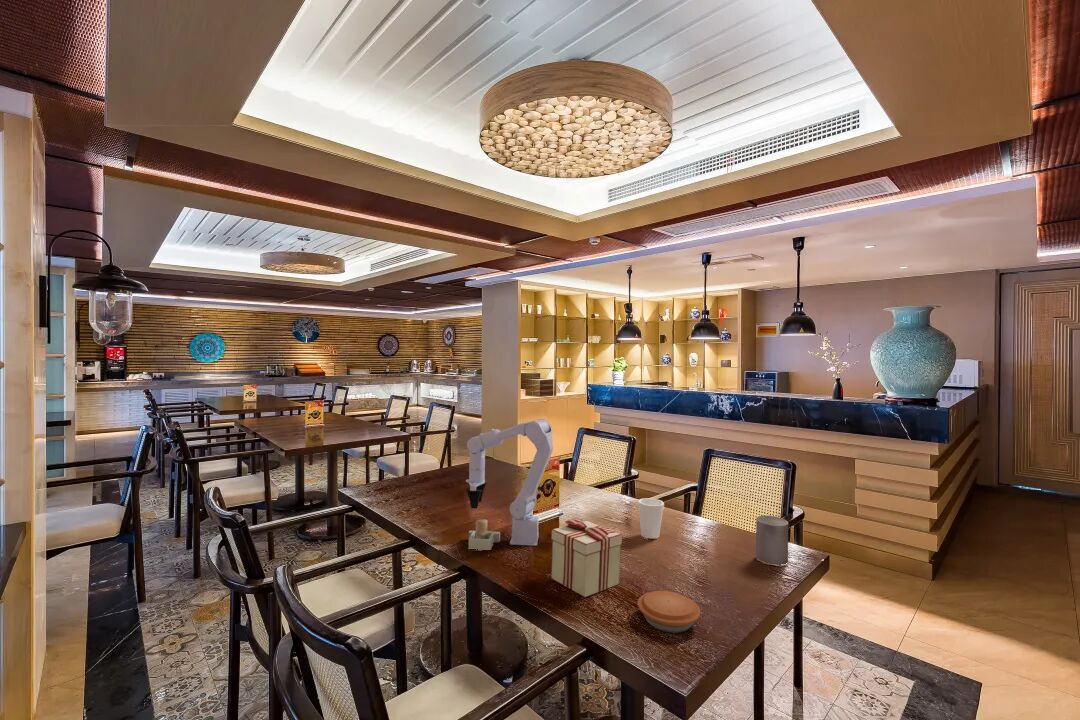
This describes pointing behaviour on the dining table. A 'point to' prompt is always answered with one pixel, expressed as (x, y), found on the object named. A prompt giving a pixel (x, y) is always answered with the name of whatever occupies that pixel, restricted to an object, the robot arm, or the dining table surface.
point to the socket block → (481, 541)
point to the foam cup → (650, 516)
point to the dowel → (481, 529)
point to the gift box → (585, 556)
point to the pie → (668, 610)
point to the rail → (496, 535)
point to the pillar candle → (772, 539)
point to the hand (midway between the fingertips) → (476, 504)
